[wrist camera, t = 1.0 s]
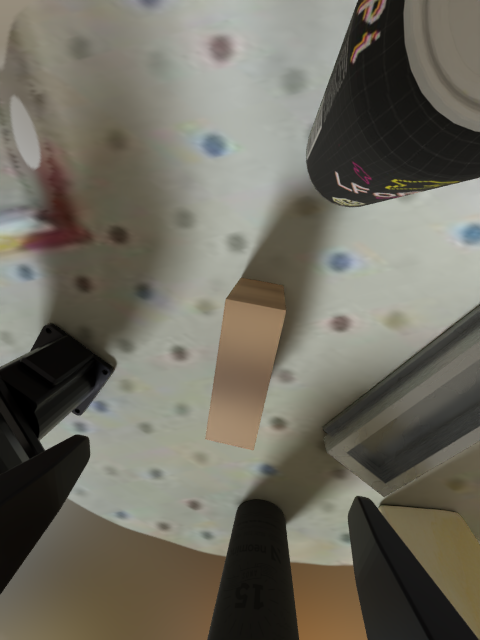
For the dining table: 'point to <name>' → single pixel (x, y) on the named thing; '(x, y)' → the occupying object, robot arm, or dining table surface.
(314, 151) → the beverage can
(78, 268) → the dining table surface
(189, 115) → the dining table surface
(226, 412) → the wooden block
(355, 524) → the robot arm
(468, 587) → the toy refrigerator
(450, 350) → the frame
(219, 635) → the drinking cup
